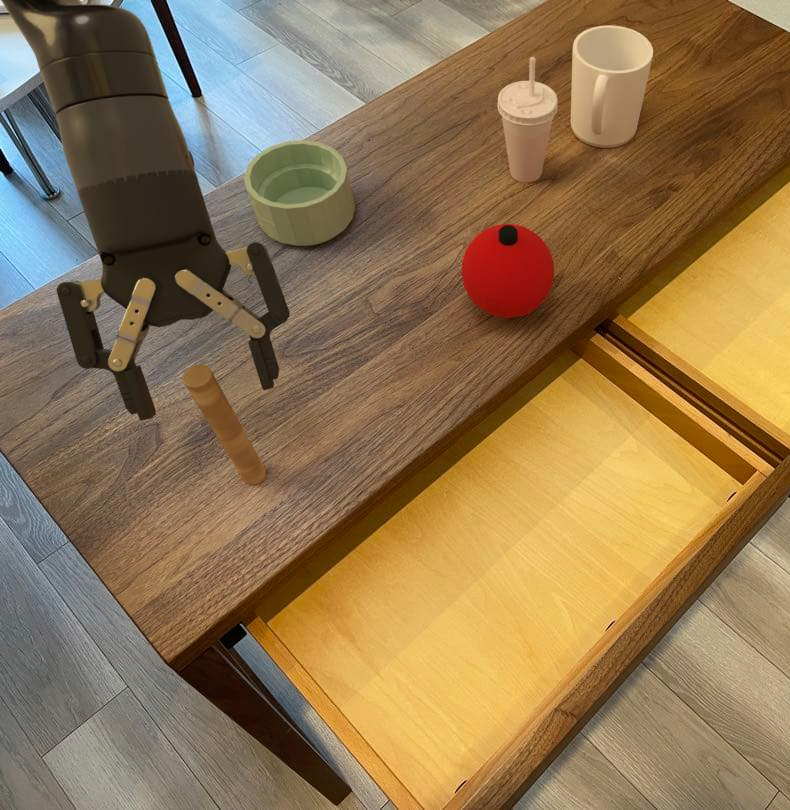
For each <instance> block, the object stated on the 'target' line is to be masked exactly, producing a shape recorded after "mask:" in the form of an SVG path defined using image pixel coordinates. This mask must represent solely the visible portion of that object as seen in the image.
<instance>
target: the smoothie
mask: <svg viewBox="0 0 790 810" xmlns="http://www.w3.org/2000/svg"><path fill="white" fill-rule="evenodd" d="M528 73H529V75H528V76H529V77H528V80H519V81H515V82H511V83H509V84H507V85H506V86H505V87H503V88H502V89H501V90H500V92H499V93H498V95H497V107H496V108H497V110H498V112H499V114H500V116H501V121H502V127H503V134H504V141H505V147H506V155H507V162H508V167H509V174H510V176H511V177H512V178H513V179H514V180H515V181H517V182H520V183H533V182H535V181H537V180H539V179H540V178H541V176H542V174H543V169H544V164H545V160H546V154H547V149H548V144H549V138H550V136H551V135H550V134H551V129H552V125H553V119H554V117H555V116H556V114H557V113H558V109H559V108H558V107H559V105H558V102H559V101H558V96H557V93H556V92H555V90H554V89H552V88H551V87H550V86H548V85H546V84H545V83H542V82H538V81H536V80H535V79H536V58H535V57H534V56H531V57H530V58H529V71H528Z"/></svg>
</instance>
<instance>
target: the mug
mask: <svg viewBox="0 0 790 810" xmlns="http://www.w3.org/2000/svg"><path fill="white" fill-rule="evenodd" d="M652 45H653V44H652V43H651V42H650V41H649V39H648V38H647V37H646V36H645V35H643V34H641V33H640V32H639V31H636V30H634V29H632V28H628V27H625V26H621V25H613V24H609V25H599V26H598V25H597V26H593V27H590V28H588V29H585V30H583V31H582V32H581V33H579V34H578V35H577V36H576V38H575V39H574V40H573V44H572V52H571V95H570V96H571V97H570V128H571V132H572V133H573V134H574V136H575V137H576V138H577V139H578V140H579V141H581V142H582V143H584V144H586V145H589V146H591V147H595V148H598V149H599V148H601V149H613V148H617V147H622V146H624V145H626V144H627V143H629V142H630V141H631V140H632V139H633V138H634V136H635V135H636V133H637V128H638V124H639V120H640V116H641V112H642V107H643V102H644V97H645V92H646V89H647V84H648V79H649V75H650V71H651V66H652V62H653V58H654V48H653V46H652Z"/></svg>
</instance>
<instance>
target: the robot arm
mask: <svg viewBox="0 0 790 810" xmlns="http://www.w3.org/2000/svg"><path fill="white" fill-rule="evenodd" d="M0 1H1V2H2V4H3V6H4V8H5V10H6V11H7V12H8V14H9V16H10V17H11V19H12V20H13V22H14V24H15V25H16V26H17V28H18V29H19V32H20V33H21V34H22V36H23V37H24V39H25V40H26V42H27V44H28V46H29V47H30V48H31V50H32V52H33V53H34V56H35V58H36V62H37V65H38V68H39V72H40V74H41V77H42V80H43V84H44V87H45V90H46V92H47V95H48V98H49V100H50V104H51V106H52V109H53V112H54V115H55V119H56V122H57V127H58V131H59V135H60V140H61V146H62V150H63V153H64V156H65V161H66V163H67V166H68V169H69V171H70V175H71V178H72V180H73V184H74V186H75V189H76V193H77V195H78V198H79V201H80V204H81V207H82V208H83V212H84V215H85V218H86V221H87V224H88V227H89V231H90V232H91V235H92V239H93V241H94V244H95V247H96V249H97V252H98V255H99V259H100V261H101V263H102V264H101V265H102V273H101V277H100V278H98V279H92V280H85V281H81V280H72V281H64V282H61V283H59V284H58V285H57V287H56V295H57V298H58V302H59V304H60V308H61V311H62V315H63V318H64V321H65V325H66V329H67V332H68V336H69V338H70V342H71V346H72V349H73V351H74V356H75V359H76V362H77V364H78V366H79V367H81V368H82V369H85V370H89V369H99V370H106V371H108V372H110V373H111V374H112V375H113V377H114V379H115V382H116V385H117V387H118V390H119V393H120V395H121V399H122V401H123V404H124V407H125V409H126V410H127V412H128V413H129V414H130V415H131V416H133V415H136V414H137V416H138V418H139V420H140V422H142V421H146V420H150V419H153V418H154V417H155V416H156V415H157V411H156V407H155V404H154V402H153V398H152V396H151V392H150V389H149V387H148V383H147V381H146V378H145V374H144V372H143V369H142V366H141V365H136V359H137V357H138V354H139V352H140V350H141V347H142V345H143V342H144V340H145V338H147V335H148V333H149V330H150V328H151V327H157V328H158V329H159V328H163V327H168V326H171V325H173V324H175V323H178V322H179V321H181V320H184V321H187V320H190V321H193V320H198V319H202V318H205V317H207V316H209V315H210V314H211V313H213V312H215V313H217V314H218V315H220V316H221V317H222V318H224V319H225V320H227V321H229V322H231V323H232V324H234V326H236V327H238V329H240V330H242V331H243V332H245V334H247V335H248V337H249V339H250V340H248V342H247V343H248V347H249V350H250V353H251V357H252V360H253V364H254V366H255V370H256V373H257V376H258V380H259V382H260V386H261V388H262V390H263V391H268V390H271V389H274V387H275V382H274V381H275V380H278V379H279V376H280V367H279V363H278V359H277V357H276V352H275V350H274V347H273V343H272V340H271V332H273V330H275V329H276V328H277V327H279V326H281V325H282V324H284V323H286V322H287V321H288V319H289V317H290V309H289V307H288V303H287V301H286V298H285V295H284V292H283V290H282V287H281V284H280V282H279V279H278V276H277V273H276V270H275V268H274V265H273V261H272V259H271V256H270V254H269V251H268V247H266V245H265V244H264V243H262V242H259V241H252V242H251V243H249V244H248V245H247V246H243V247H240V248H236V249H233V250H229V251H225V249H224V248H222V246H221V245H220V243H219V242H218V240H217V237H216V234H215V231H214V227H213V224H212V220H211V218H210V214H209V211H208V208H207V205H206V201H205V198H204V195H203V192H202V188H201V186H200V182H199V179H198V176H197V172H196V169H195V160H194V156H193V155H192V151H190V149H189V146H188V143H187V139H186V138H185V134H184V132H183V130H182V129H183V128H181V125H180V123H179V121H178V119H177V117H176V114H175V112H174V110H173V107H172V104H171V101H170V100H169V95H168V92H167V89H166V85H165V83H164V78H163V76H162V72H161V69H160V67H159V62H158V61H157V56H156V53H155V50H154V46H153V43H152V41H151V38H150V35H149V33H148V31H147V28H146V26H145V25H144V23H143V22H142V21H141V19H140V18H139V17H138V16H137V15H136V14H134V13H133V12H132V11H130V10H128V9H126V8H123V7H120V6H116V5H113V4H112V5H111V4H100V3H99V4H98V3H97V4H95V3H85V4H83V3H82V1H81V0H0ZM232 265H233V266H237V267H239V268H240V269H241V271H242V272H243V274H244V275H246V276H248V277H249V276H250V277H253V276H255V278H256V281H257V285H258V286H259V289H260V292H261V294H262V297H263V300H264V303H265V305H266V308H267V312H265V313H264V314H262V315H261V316H259V315H258V314H256V313H255V312H254V311H252V310H251V309H249V308H248V307H247V306H246V305H244V304H243V303H242V302H241V301H240V300H239V299H238V298H236V297H234V296H233V295H232V294H230V293H229V292H228V291H226V290H225V289H224V288H225V285H226V282H227V280H228V278H229V274H230V272H231V269H232ZM104 294H105V295H106V296H108V297H109V298H110V299H112V300H113V301H114V302H116V303H117V304H118V305H120V306H121V307H122V308H124V309H125V313H124V316H123V318H122V320H121V324H120V325H119V328H118V331H117V334H116V339H115V342H114V344H113V347H112V349H106V348H104V344H103V341H102V337H101V333H100V330H99V327H98V322H97V320H96V316H95V313H94V312H95V311H97V310H98V309H99V308H100V307H101V297H102V295H104Z"/></svg>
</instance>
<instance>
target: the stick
mask: <svg viewBox="0 0 790 810" xmlns="http://www.w3.org/2000/svg"><path fill="white" fill-rule="evenodd" d="M182 382H183V384H184V385H185V387H186V389H187V390H188V392H189V394H190V395H191V398H192V399H193V400H194V402H195V404H196V405H197V407H198V408H199V410H200V412H201V413H202V415H203V416H204V418H205V420H206V421H207V423H208V425H209V426H210V428H211V430H212V431H213V433H214V435H215V436H216V439H218V441H219V443H220V444H221V446H222V448H223V450H224V451H225V452H226V455H227V456H228V457H229V459H230V461H231V462H232V464H233V466H234V467H235V469H236V471H237V472H238V474H239V475H240V477H241V479H242V481H243V482H244V483H245V484H247V485H251V486H254V485H258V484H260V483H262V482H263V481H264V480H265V479H266V476H267V469H266V467H265V465H264V463H263V462H262V460H261V458H260V457H259V455H258V452H257V451H256V449H255V447H254V446H253V444H252V442H251V440H250V438H249V436H248V435H247V433H246V431H245V429H244V427H243V425H242V424H241V422H240V420H239V418H238V416H237V415H236V412H235V411H234V409H233V408H232V406H231V403H230V402H229V400H228V398H227V396H226V394H225V393H224V391H223V389H222V388H221V385H220V384H219V382H218V380H217V378H216V376H215V375H214V372H213V371H212V369H211V367H209V366H208V365H206V364H200V363H199V364H195V365H192V366H189V367H188V368H187V369H186V370H185V371H184V373H183V374H182Z"/></svg>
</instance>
